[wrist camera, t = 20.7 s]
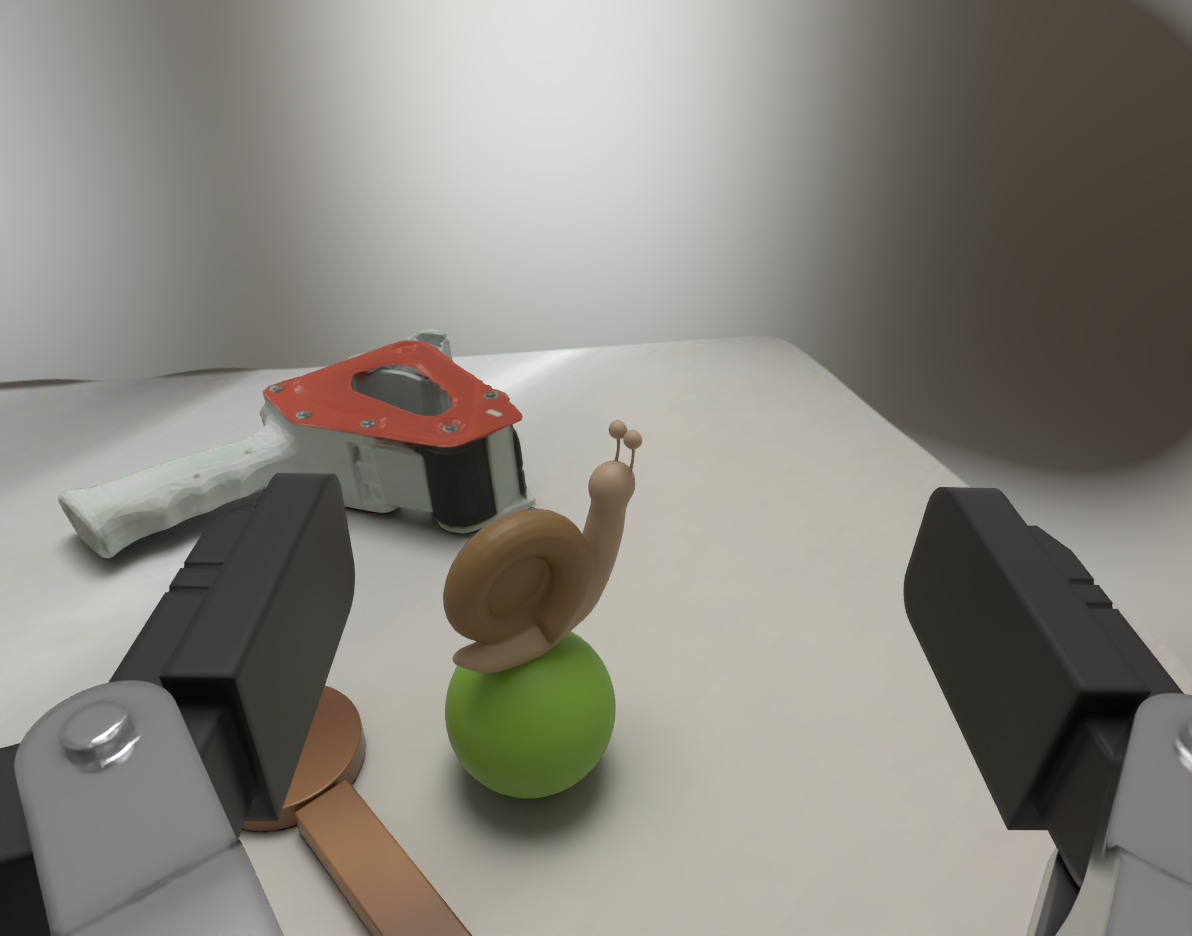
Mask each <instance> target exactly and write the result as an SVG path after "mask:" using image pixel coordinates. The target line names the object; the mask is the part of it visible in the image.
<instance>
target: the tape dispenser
mask: <svg viewBox="0 0 1192 936" xmlns="http://www.w3.org/2000/svg"><path fill="white" fill-rule="evenodd" d="M263 396H264V399H265V404H264V406H263V407H262V409H261V411H260V415H261V418H262V422H263V425H264V427H263V429H262V430H261V431H259V432H258V433H256V434H255V435H253V436H252V437H250V438H248V439H246V440H242V441H239V442H235V443H231V444H227V445H223V446H220V447H216V448H212V449H208V450H205V451H201V452H198V453H195V454H192V455H188V456H185V457H182V458H179V459H176V460H172V461H169V462H166V463H163V464H160V465H157V466H154V467H151V468H148V469H145V470H143V471H140V472H137V473H135V474H132V475H129V476H126V477H124V478H121V479H118V480H115V481H112V482H109V483H106V484H103V485H100V486H95V487H90V488H84V489H68V490H65V491H63V492H61V493H60V494H59V496H58V500H59V503H60V505H61V507H62V509H63V511H64V513H65V514H66V516H67V517H68V519H69V521H70V522H71V524H72V526H73V527H74V529H75V530H76V532H77V533H78V534H79V536H80V537H81V538H82V539H83V540H84V541H85V542H86V543H87V544H88V545H89V546H90V547H91V548H92V549H93V550H94V551H95V552H96V553H98V554H99V555H100V556H101V557H104V558H107V559H108V558H111V557H113V556H115V555H116V554H117V553H118V552H119V551H121V550H122V549H123V548H125V547H126V546H128V545H130V544H131V543H133V542H134V541H136V540H138V539H141V538H143V537H146V536H148V535H151V534H153V533H156V532H159V531H162V530H166V529H169V528H171V527H173V526H175V525H177V524H179V523H180V522H182V521H185V520H187V519H190V518H192V517H195V516H198V515H201V514H204V513H207V512H210V511H212V510H214V509H216V508H218V507H220V506H222V505H224V504H226V503H229V502H231V501H234V500H237V499H240V498H243V497H247V496H249V495H250V494H252V493H254V492H256V491H257V490H259V489H261V488H263V487H265V486H266V485H268V484H269V482H270V480H271V478H272V477H273V476H274V475H275V474H276V473H320V474H335V475H336V476H337V477H338V479H339V481H340V484H341V489H342V494H343V500H344V506H346V507H351V508H356V509H362V510H367V511H373V512H378V513H386V512H391V511H393V510H395V509H397V508H398V507H404V508H411V509H416V510H420V511H424V512H428V513H431V514H432V516H433V517H434V518H435V519H436V520H437V521H438V524H439V525H440V526H441V527H442V528H443V529H445V530H447V531H449V532H456V533H469V532H473V531H476V530H479V529H481V528H484V527H485V526H487V525H488V524H489V523H491V522H493V521H494V520H496V519H498V518H500V517H502V516H504V515H507V514H510V513H513V512H517V511H521V510H526V509H528V508H530V507H532V506H533V505H534V504H535V498H534V497H533V496H532V495H531V493H530V492H529V490H528V489H527V487H526V483H525V475H524V471H523V469H522V467H523V461H522V453H521V447H520V442H519V438H518V435H517V433H516V431H515V429H514V428H513V425H512V424H514V423H516V422H518V421H521V419H522V414H521V413H520V412H519V411H518V410H517V409H516V408H515V406H514V405H512V404H511V403H510V402H509V400H510V398H509V397H508V395H507V394H506V393H504V392H502V391H499V390H495V389H492V388H491V386H489V385H486V384H484V383H483V382H482V381H481V380H479V379H477V378H476V377H475V376H474V375H472V374H470V373H469V372H467V371H465V370H464V369H462V368H461V367H460V366H458V365H457V364H455V363H454V362H453V360H452V356H451V350H450V344H449V341H448V339H447V335H446V334H445V333H442V332H440V331H437V330H424V331H418V332H416V333H414V334H413V336H411V337H409V338H407V339H405V340H403V341H400V342H397V343H393V344H390V345H387V346H384V347H382V348H379V349H375V350H372V351H368V352H366V353H362V354H355V355H353V356H351V357H350V358H349V359H347V360H345V361H342V362H339V363H337V364H334V365H331V366H328V367H325V368H323V369H320V370H317V371H314V372H311V373H308V374H306V375H303V376H300V377H297V378H293V379H289V380H286V381H282V382H279V383H277V384H274V385H271V386H268V387H267V388H266V389H265V390H264V391H263Z"/></svg>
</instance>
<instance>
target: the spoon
mask: <svg viewBox="0 0 1192 936" xmlns="http://www.w3.org/2000/svg"><path fill="white" fill-rule="evenodd" d="M364 754H365V739H364V734H363V729H362V724H361V719H360V716H359V713H358V711H357V709H356V707H355V706H354V704H353V703H352V702H351V701H350V700H349V699H348V698H347V697H346V696H345V695H343V694H342V693H340V692H339V691H337V690H335V689H333V688H331V687H328V686H324V689H323V691H322V694H321V697H320V700H319V703H318V706H317V709H316V712H315V715H314V718H313V721H312V724H311V726H310V729H309V732H308V735H307V738H306V741H305V744H304V747H303V750H302V753H301V756H300V759H299V762H298V764H297V767H296V770H295V773H294V776H293V779H292V782H291V785H290V788H289V791H288V794H287V797H286V800H285V802H284V805H283V808H282V811H281V814H280V817H279V820H278V821H245V822H244V824H243V827H242V829H244V830H251V831H271V830H278V829H283V828H287V827H291V826H294V825H298V828H299V832H300V833H301V835H302V836H303V838H304V839H305V841H306V842H307V843H308V845H309V846H310V848H311V849H312V850H313V852H314V853H315V855H316V856H317V858H318V859H319V860H320V862H321V863H322V865H323V866H324V868H325V869H326V870H327V872H328V873H329V875H330V876H331V877H332V879H333V880H334V882H335V883H336V885H337V886H338V887H339V889H340V890H341V892H342V893H343V894H344V896H345V897H346V899H347V900H348V902H349V903H350V904H351V906H352V907H353V909H354V910H355V912H356V913H357V914H358V916H359V917H360V919H361V920H362V921H363V923H364V924H365V926H366V927H367V929H368V930H369V931H370V933H371V934H372V936H472V935H471V934H470V932H469V931H468V930H467V929H466V927H465V926H464V925H463V924H462V922H461V921H460V920H459V919H458V917H457V916H456V915H455V914H454V912H453V911H452V910H451V909H450V907H449V906H448V905H447V904H446V902H445V901H444V900H443V899H442V897H441V896H440V895H439V894H438V892H437V891H436V890H435V889H434V887H433V886H432V885H431V884H430V882H429V881H428V880H427V879H426V877H425V876H424V875H423V874H422V872H421V871H420V870H419V869H418V867H417V866H416V865H415V864H414V862H413V861H412V860H411V859H410V857H409V856H408V855H407V854H406V852H405V851H404V850H403V849H402V847H401V846H400V845H399V844H398V843H397V841H396V840H395V839H394V838H393V836H392V835H391V834H390V833H389V831H388V830H387V829H386V828H385V826H384V825H383V824H382V823H381V821H380V820H379V819H378V818H377V816H376V815H375V814H374V813H373V811H372V810H371V809H370V808H369V806H368V805H367V804H366V803H365V801H364V800H363V799H362V798H361V796H360V795H359V794H358V793H357V791H356V790H355V789H354V788H353V786H352V785H351V784H352V783H353V782H354V780H355V778H356V776H357V775H358V773H359V771H360V768H361V765H362V763H363V759H364Z"/></svg>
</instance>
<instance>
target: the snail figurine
mask: <svg viewBox="0 0 1192 936" xmlns="http://www.w3.org/2000/svg"><path fill="white" fill-rule="evenodd" d="M609 433H610V435H611V436H612V437H613V438H615V439H617V452H616V457H615V460H614V461H609V462H605V463H603V464H601V465H600V466H598V467H597V468H596V469H595V470H594V472H593V473H592V475H591V477H590V480H589V486H588V487H589V494H590V497H591V505H590V509H589V513H588V517H587V520H586V524H585V527H584V531H583V534H582V533H581V532H580V531H579V529H578V528H577V526H576V525H575V524H574V523H573V522H572V521H570V520H569V519H568V518H566V517H565V516H563V515H560V514H558V513H555V512H553V511H550V510H543V509H529V510H521V511H517V512H513V513H510V514H507V515H504V516H502V517H500V518H498V519H496V520H494V521H493V522H491V523H489V524H488V525H487V526H485V527H484V528H482V529H481V530H480V531H478V532H477V533H476V534H475V535H474V536H473V537H472V538H471V539H470V540H469V541H468V542H467V543H466V544H465V546H464V547H463V548H462V549H461V551H460V552H459V553H458V555H457V557H456V558H455V560H454V562H453V563H452V565H451V567H450V570H449V573H448V575H447V578H446V582H445V587H444V593H443V602H444V610H445V613H446V616H447V619H448V621H449V623H450V624H451V626H452V627H453V628H454V630H455V631H457V632H458V633H459V634H461V635H462V636H464V637H466V638H468V639H471V640H474V641H476V642H475V643H473V644H470V645H468V646H466V647H464V648H462V649H460V650H458V651H457V652H456V653H455V654H454V656H453V662H454V663H455V664H456V665H457V668H456V669H455V672H454V674H453V676H452V678H451V681H450V684H449V687H448V691H447V696H446V704H445V720H446V728H447V733H448V737H449V740H450V743H451V745H452V748H453V750H454V752H455V754H456V756H457V758H458V759H459V761H460V762H461V764H462V765H463V766H464V768H465V769H466V770H467V771H468V772H469V773H470V774H471V775H472V776H473V777H474V778H475V779H476V780H477V781H479V782H480V783H481V784H483V785H484V786H486V787H488V788H489V789H491V790H493V791H495V792H498V793H500V794H503V795H507V796H510V797H516V798H541V797H546V796H550V795H554V794H557V793H559V792H562V791H564V790H566V789H568V788H570V787H571V786H573V785H575V784H576V783H577V782H579V781H580V780H581V779H583V778H584V777H585V776H586V775H587V774H588V773H589V772H590V771H591V770H592V769H593V768H594V767H595V765H596V764H597V763H598V761H599V760H600V758H601V757H602V755H603V753H604V752H605V750H606V748H607V745H608V743H609V740H610V738H611V735H612V731H613V727H614V721H615V695H614V690H613V685H612V682H611V679H610V676H609V673H608V671H607V669H606V667H605V665H604V663H603V662H602V660H601V658H600V657H599V656H598V654H597V653H596V652H595V650H594V649H593V648H592V647H591V646H590V645H589V644H588V643H587V642H586V641H584V640H583V639H582V638H581V637H579V636H578V635H576V634H575V633H573V632H571V630H572V629H573V628H574V627H576V626H577V625H578V624H579V623H580V622H581V621H583V620H584V619H585V618H586V617H587V616H588V614H589V613H590V612H591V611H592V610H593V608H594V607H595V605H596V604H597V602H598V600H599V599H600V597H601V595H602V592H603V590H604V588H605V586H606V584H607V582H608V580H609V577H610V574H611V572H612V569H613V566H614V563H615V560H616V557H617V554H618V550H619V546H620V543H621V538H622V534H623V529H624V521H625V512H626V507H627V504H628V502H629V500H630V498H631V497H632V495H633V493H634V489H635V477H634V473H633V471H632V469H633V463H634V453H635V449H636V448H638V447H639V446H640V445H641V443H642V437H641V435H640V433H639V432H638V431H636V430H629V431H628V432H627V427H626V425H625V423H624V422H622V421H619V420H616V421H614V422H612V423H611V424H610V426H609ZM623 437H624V438H623ZM622 438H623V441H624V444H625V445H626V446H627V447H628V448H630V449H632V459H631V464H630V467H629V466H627V465H626V464H624V463H622V462H619V461H618V457H619V449H620V439H622Z"/></svg>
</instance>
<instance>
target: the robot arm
mask: <svg viewBox="0 0 1192 936" xmlns="http://www.w3.org/2000/svg"><path fill="white" fill-rule="evenodd" d="M354 586H355V568H354V560H353V554H352V548H351V542H350V536H349V530H348V524H347V518H346V512H345V506H344V500H343V494H342V489H341V484H340V481H339V479H338V477H337V476H336V475H335V474H320V473H276V474H275V475H274V476H273V477H272V478H271V480H270V482H269V484H268V485H267V487H266V489H265V491H264V492H263V494H262V496H261V498H260V499H259V501H258V503H257V505H256V506H255V508H254V510H235V509H234V510H233V511H231V512H230V513H229V514H227V515H226V516H225V517H224V518H222V519H221V520H220V521H218V522H217V523H216V524H214V525H213V526H212V527H211V528H209V529H208V530H207V531H205V532H204V533H203V534H202V535H201V537H200V538H199V540H198V541H197V543H196V545H195V546H194V548H193V549H192V551H191V552H190V554H189V556H188V557H187V559H186V560H185V562H184V568H180V570H179V572H178V573H177V575H176V576H175V578H174V579H173V581H172V583H171V584H170V586H169V588H170V589H169V592H165V594H164V595H163V597H162V598H161V600H160V602H159V603H158V605H157V606H156V608H155V610H154V611H153V613H152V614H151V616H150V618H149V619H148V621H147V622H146V624H145V625H144V627H143V629H142V630H141V632H140V633H139V635H138V637H137V638H136V640H135V641H134V643H133V644H132V646H131V648H130V649H129V651H128V652H127V654H126V656H125V657H124V659H123V660H122V662H121V664H120V665H119V667H118V668H117V670H116V671H115V673H114V675H113V676H112V678H111V679H110V681H109V683H106V684H102V685H98V686H95V687H92V688H89V689H87V690H84V691H82V692H80V693H77V694H75V695H73V696H71V697H69V698H68V699H66V700H64V701H62V702H61V703H59V704H58V705H56V706H55V707H53V708H52V709H51V710H49V711H48V712H47V713H45V714H44V715H43V716H42V717H41V718H40V719H39V720H38V721H37V722H36V723H35V724H34V725H33V726H32V727H31V729H30V730H29V731H28V732H27V733H26V735H25V737H24V738H23V740H22V741H21V743H19V744H15V745H12V746H8V747H4V748H0V936H284V935H283V933H282V931H281V928H280V926H279V924H278V922H277V919H276V917H275V915H274V913H273V911H272V908H271V906H270V904H269V902H268V899H267V897H266V895H265V893H264V890H263V888H262V886H261V884H260V882H259V879H258V877H257V875H256V873H255V870H254V868H253V866H252V864H251V862H250V859H249V857H248V855H247V853H246V851H245V849H244V847H243V845H242V843H241V841H240V840H239V839H238V837H239V835H240V832H241V829H242V827H243V824H244V822H245V821H278V820H279V817H280V814H281V811H282V808H283V805H284V802H285V800H286V797H287V794H288V791H289V788H290V785H291V782H292V779H293V776H294V773H295V770H296V767H297V764H298V762H299V759H300V756H301V753H302V750H303V747H304V744H305V741H306V738H307V735H308V732H309V729H310V726H311V724H312V721H313V718H314V715H315V712H316V709H317V706H318V703H319V700H320V697H321V694H322V691H323V689H324V686H325V683H326V680H327V677H328V674H329V671H330V668H331V665H332V662H333V659H334V656H335V653H336V651H337V648H338V645H339V642H340V639H341V636H342V633H343V630H344V627H345V624H346V621H347V618H348V615H349V613H350V609H351V606H352V601H353V595H354ZM904 603H905V609H906V613H907V616H908V619H909V621H910V624H911V626H912V628H913V630H914V632H915V634H916V636H917V638H918V641H919V643H920V645H921V647H922V649H923V651H924V653H925V655H926V658H927V660H928V662H929V664H930V666H931V668H932V670H933V672H934V674H935V677H936V679H937V681H938V683H939V685H940V687H941V689H942V691H943V694H944V696H945V698H946V700H947V702H948V704H949V706H950V708H951V711H952V713H953V715H954V717H955V719H956V721H957V723H958V725H959V728H960V730H961V732H962V734H963V736H964V738H965V740H966V742H967V744H968V747H969V749H970V751H971V753H972V755H973V757H974V759H975V761H976V764H977V766H978V768H979V770H980V772H981V774H982V776H983V778H984V781H985V783H986V785H987V787H988V789H989V791H990V793H991V795H992V798H993V800H994V802H995V804H996V806H997V808H998V810H999V812H1000V814H1001V817H1002V819H1003V821H1004V823H1005V825H1006V827H1007V829H1008V830H1048V832H1049V834H1050V835H1051V837H1052V839H1053V841H1054V843H1055V845H1056V848H1055V850H1054V852H1053V853H1052V855H1051V857H1050V859H1049V861H1048V863H1047V866H1046V869H1045V873H1044V876H1043V880H1042V883H1041V887H1040V890H1039V893H1038V897H1037V900H1036V904H1035V907H1034V911H1033V914H1032V918H1031V921H1030V925H1029V928H1028V932H1027V935H1026V936H1192V695H1187V694H1184V693H1183V692H1182V691H1181V689H1180V688H1179V687H1178V686H1177V684H1176V683H1175V682H1174V680H1173V679H1172V678H1171V677H1170V675H1169V674H1168V673H1167V672H1166V670H1165V669H1164V668H1163V666H1162V665H1161V664H1160V663H1159V661H1158V660H1157V659H1156V658H1155V656H1154V655H1153V654H1152V652H1151V651H1150V650H1149V649H1148V647H1147V646H1146V645H1145V644H1144V642H1143V641H1142V640H1141V638H1140V637H1139V636H1138V635H1137V633H1136V632H1135V631H1134V630H1133V628H1132V627H1131V626H1130V624H1129V623H1128V622H1127V621H1126V619H1125V618H1124V617H1123V616H1122V614H1121V613H1120V612H1119V610H1118V609H1113V608H1112V604H1113V603H1112V602H1111V600H1110V599H1109V598H1108V596H1107V595H1106V594H1105V593H1104V591H1103V590H1102V589H1101V588H1100V586H1099V585H1094V579H1093V577H1092V576H1091V575H1090V574H1089V572H1088V571H1087V570H1086V569H1085V567H1084V566H1083V565H1082V564H1081V562H1080V561H1079V560H1078V558H1077V557H1076V556H1075V555H1074V553H1073V552H1072V551H1071V550H1070V549H1068V548H1067V547H1066V546H1064V545H1063V544H1061V543H1060V542H1059V541H1057V540H1056V539H1054V538H1053V537H1052V536H1050V535H1049V534H1047V533H1046V532H1045V531H1043V530H1042V529H1040V528H1039V527H1038V526H1027V524H1026V523H1025V522H1024V520H1023V519H1022V518H1021V517H1020V515H1019V514H1018V512H1017V511H1016V510H1015V508H1014V507H1013V506H1012V504H1011V503H1010V502H1009V500H1008V499H1007V497H1006V496H1005V495H1004V494H1003V493H1002V492H1001V491H1000V490H998V489H996V488H957V487H939V488H937V489H936V490H935V491H934V492H933V493H932V495H931V497H930V498H929V501H928V504H927V507H926V510H925V513H924V517H923V520H922V523H921V526H920V529H919V533H918V536H917V539H916V542H915V545H914V548H913V552H912V555H911V558H910V561H909V564H908V567H907V571H906V574H905V580H904Z"/></svg>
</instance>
